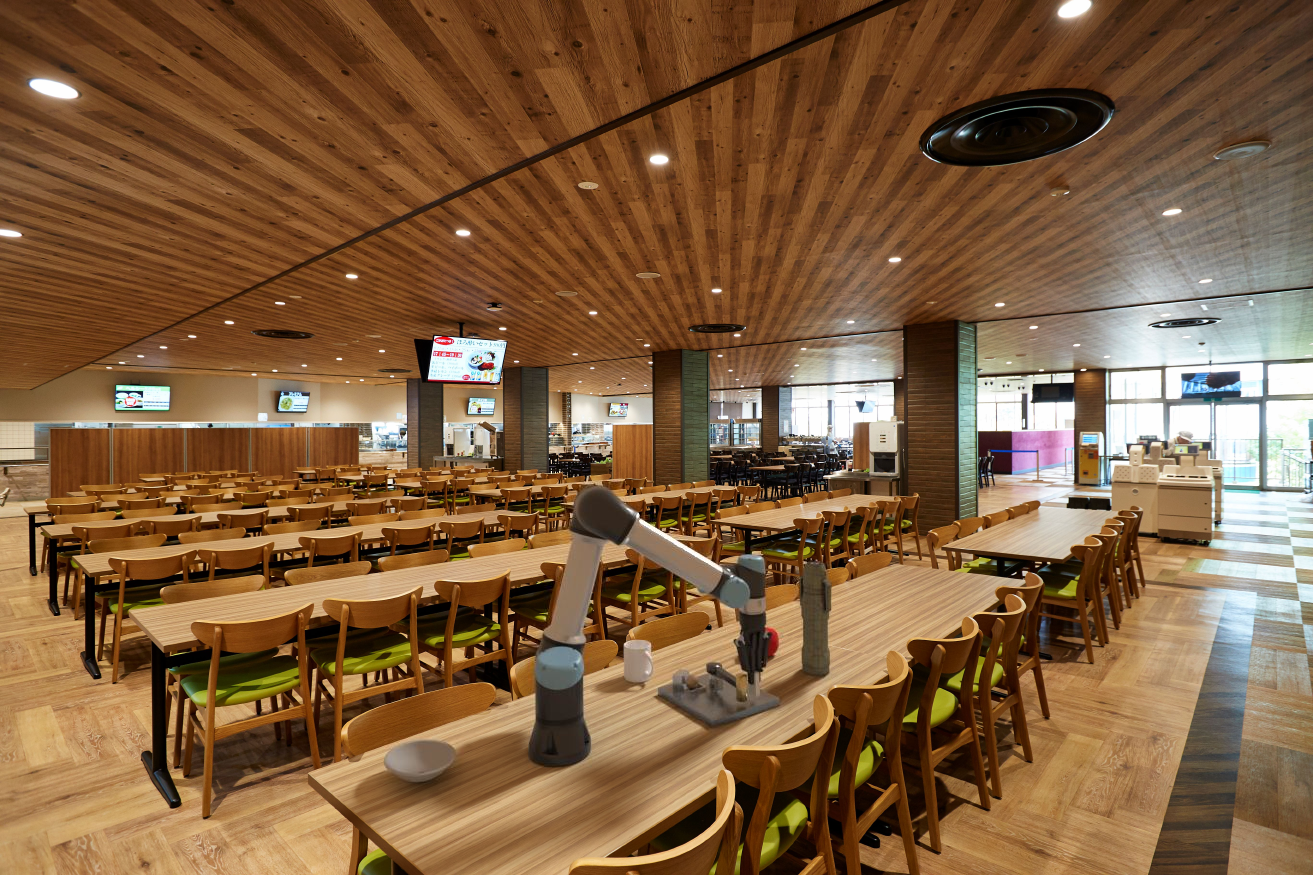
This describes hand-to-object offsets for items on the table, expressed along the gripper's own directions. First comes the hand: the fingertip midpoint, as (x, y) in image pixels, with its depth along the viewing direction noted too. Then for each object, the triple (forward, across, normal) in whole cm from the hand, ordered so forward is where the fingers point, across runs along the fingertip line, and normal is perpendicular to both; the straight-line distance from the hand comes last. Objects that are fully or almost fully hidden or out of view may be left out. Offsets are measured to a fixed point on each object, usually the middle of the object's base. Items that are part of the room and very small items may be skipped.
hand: (754, 694), depth 174 cm
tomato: (+4, +31, +29) cm, 43 cm away
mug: (+4, -15, +36) cm, 39 cm away
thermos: (+4, +35, +8) cm, 36 cm away
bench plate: (+4, -5, +10) cm, 12 cm away
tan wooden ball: (+1, -9, +17) cm, 19 cm away
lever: (0, -3, +8) cm, 9 cm away
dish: (+2, -86, +17) cm, 88 cm away
